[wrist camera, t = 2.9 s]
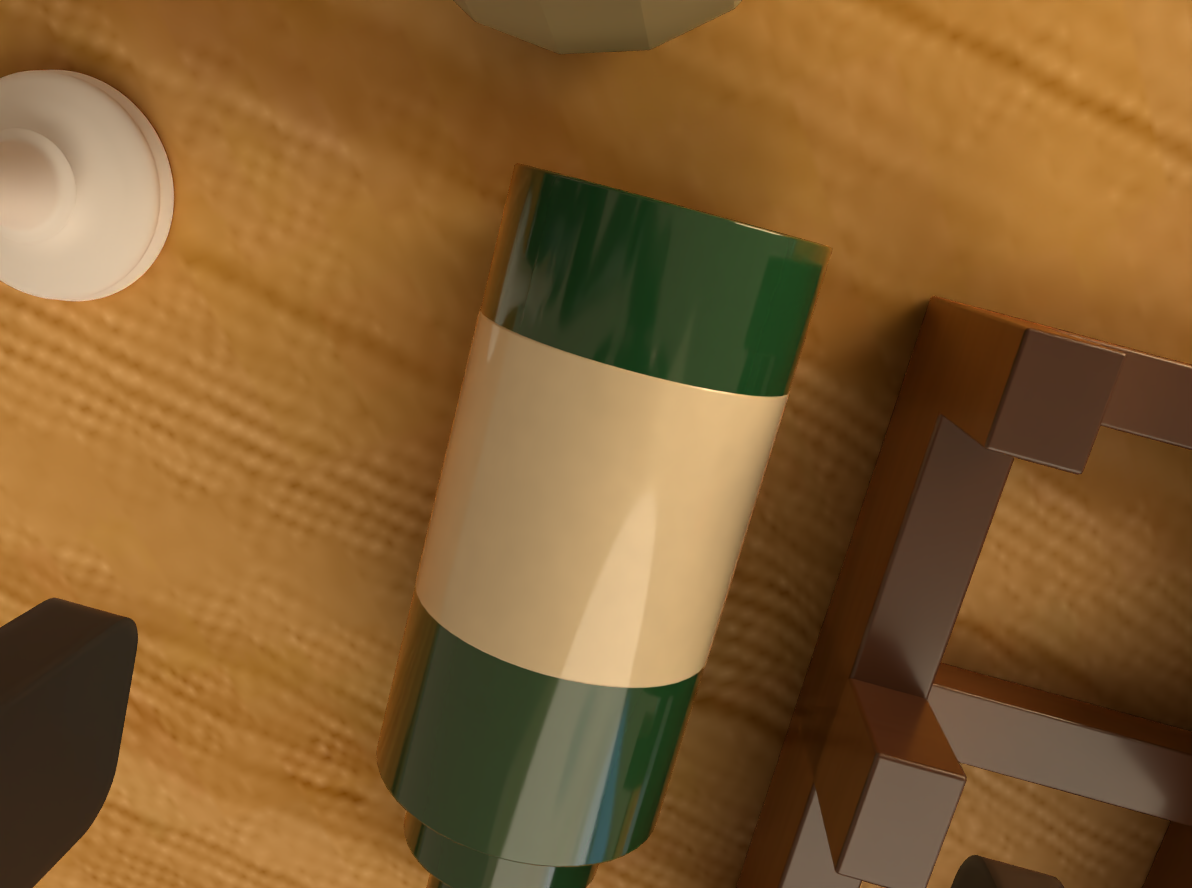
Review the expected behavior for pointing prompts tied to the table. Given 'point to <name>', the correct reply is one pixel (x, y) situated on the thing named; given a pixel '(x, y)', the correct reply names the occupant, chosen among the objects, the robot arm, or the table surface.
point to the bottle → (586, 526)
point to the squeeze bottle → (595, 21)
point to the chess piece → (78, 187)
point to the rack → (930, 608)
